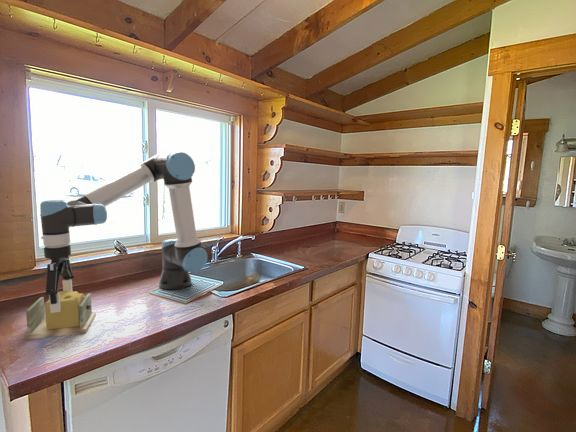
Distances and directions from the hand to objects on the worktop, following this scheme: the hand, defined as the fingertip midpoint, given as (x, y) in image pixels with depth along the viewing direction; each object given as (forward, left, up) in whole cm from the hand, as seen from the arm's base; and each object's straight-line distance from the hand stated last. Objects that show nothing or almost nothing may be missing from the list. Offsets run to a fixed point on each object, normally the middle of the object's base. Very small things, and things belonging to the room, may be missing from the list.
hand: (62, 304), depth 116 cm
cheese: (-1, 0, -7) cm, 7 cm away
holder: (0, 0, -8) cm, 8 cm away
